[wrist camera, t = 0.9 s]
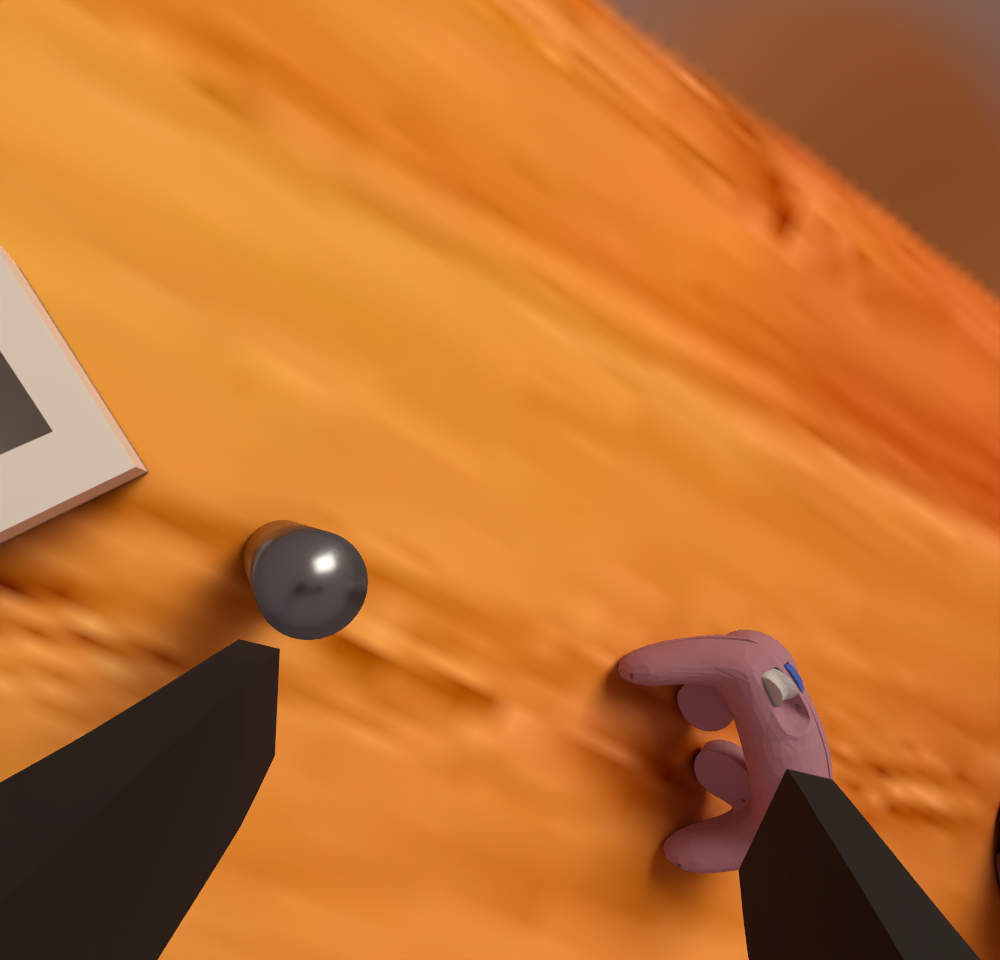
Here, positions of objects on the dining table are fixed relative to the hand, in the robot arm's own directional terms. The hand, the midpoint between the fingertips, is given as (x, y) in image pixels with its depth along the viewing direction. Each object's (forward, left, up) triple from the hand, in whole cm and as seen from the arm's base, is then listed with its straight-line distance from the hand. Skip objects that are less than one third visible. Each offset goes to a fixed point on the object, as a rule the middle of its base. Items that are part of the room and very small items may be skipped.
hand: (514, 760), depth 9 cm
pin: (-1, +2, -15) cm, 15 cm away
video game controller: (+10, -14, -15) cm, 23 cm away
